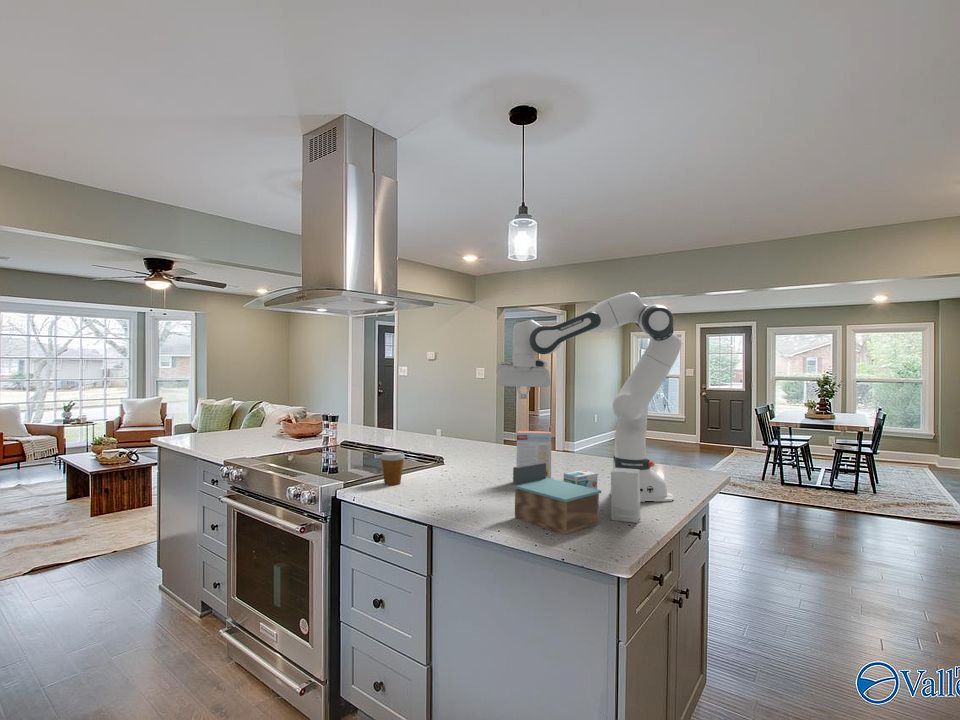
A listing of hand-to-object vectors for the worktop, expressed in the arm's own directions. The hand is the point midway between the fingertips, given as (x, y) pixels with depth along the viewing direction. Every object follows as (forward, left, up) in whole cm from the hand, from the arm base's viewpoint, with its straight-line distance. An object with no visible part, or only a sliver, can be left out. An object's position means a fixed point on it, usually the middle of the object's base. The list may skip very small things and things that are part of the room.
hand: (523, 398), depth 193 cm
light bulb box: (-20, +16, -35) cm, 44 cm away
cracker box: (-5, -13, -35) cm, 38 cm away
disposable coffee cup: (+51, -4, -35) cm, 62 cm away
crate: (-10, +36, -35) cm, 51 cm away
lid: (-9, +35, -26) cm, 45 cm away
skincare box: (-32, +32, -35) cm, 57 cm away
